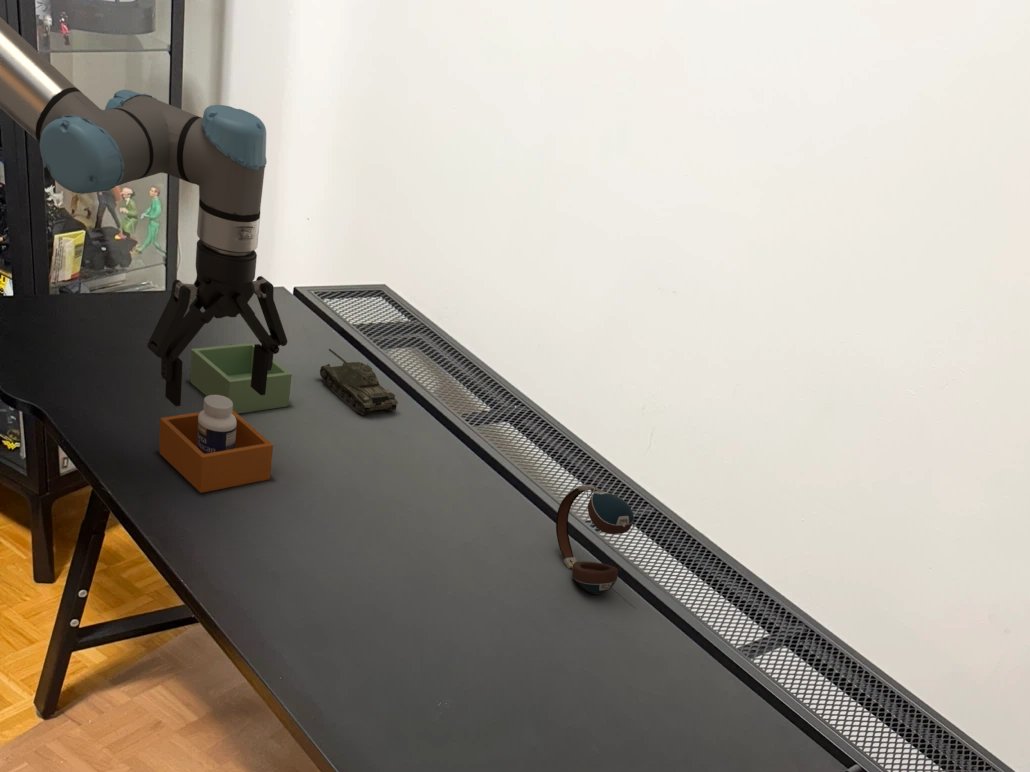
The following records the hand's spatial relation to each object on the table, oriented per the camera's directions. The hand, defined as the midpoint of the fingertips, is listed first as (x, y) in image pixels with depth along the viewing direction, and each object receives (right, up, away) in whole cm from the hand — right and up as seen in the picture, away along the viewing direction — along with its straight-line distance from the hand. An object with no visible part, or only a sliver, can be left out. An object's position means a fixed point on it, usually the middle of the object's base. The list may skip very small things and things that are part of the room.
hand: (216, 396), depth 145 cm
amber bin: (-3, -8, +7) cm, 11 cm away
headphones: (+54, -26, +9) cm, 60 cm away
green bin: (-4, +8, +25) cm, 27 cm away
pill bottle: (-2, -8, +7) cm, 11 cm away
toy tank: (+13, +12, +36) cm, 40 cm away
